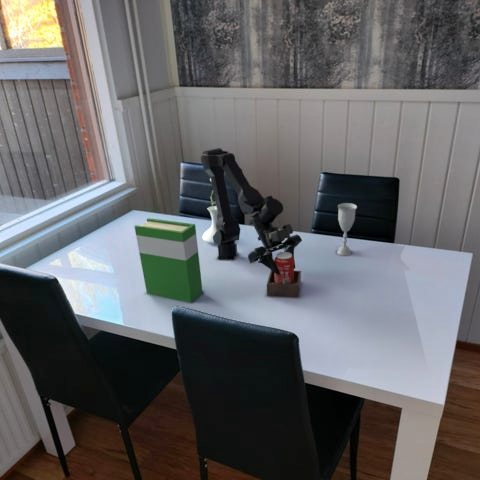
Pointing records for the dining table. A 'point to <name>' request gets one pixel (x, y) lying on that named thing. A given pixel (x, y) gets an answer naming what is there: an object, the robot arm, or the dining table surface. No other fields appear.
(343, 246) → the chalice
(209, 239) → the flower in vase
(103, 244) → the dining table surface
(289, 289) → the crate
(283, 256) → the beverage can
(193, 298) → the hardback book
